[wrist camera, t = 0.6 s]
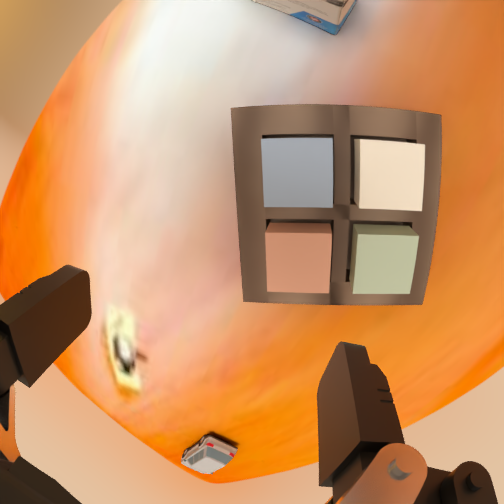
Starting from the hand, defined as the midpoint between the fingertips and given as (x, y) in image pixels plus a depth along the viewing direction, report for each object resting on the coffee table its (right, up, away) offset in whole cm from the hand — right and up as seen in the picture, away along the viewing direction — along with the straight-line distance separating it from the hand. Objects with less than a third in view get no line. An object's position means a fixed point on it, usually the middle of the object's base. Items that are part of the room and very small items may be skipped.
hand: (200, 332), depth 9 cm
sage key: (+12, +2, +14) cm, 18 cm away
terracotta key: (+5, +2, +15) cm, 16 cm away
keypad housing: (+9, +7, +16) cm, 20 cm away
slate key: (+5, +8, +13) cm, 16 cm away
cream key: (+11, +8, +11) cm, 18 cm away
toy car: (-6, -31, +35) cm, 47 cm away
